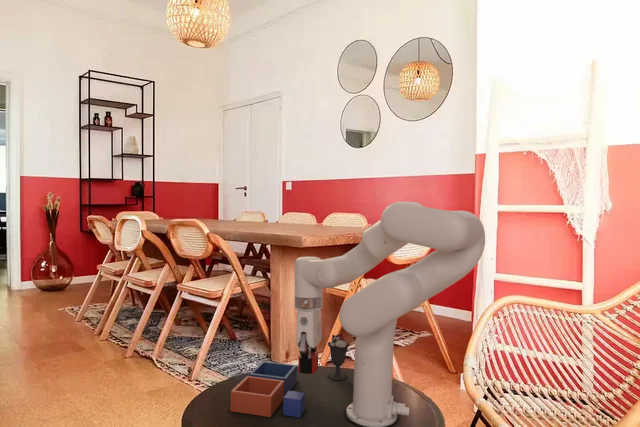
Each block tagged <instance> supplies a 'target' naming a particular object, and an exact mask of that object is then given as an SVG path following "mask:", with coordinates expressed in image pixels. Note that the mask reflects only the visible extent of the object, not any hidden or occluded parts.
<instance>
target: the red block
mask: <svg viewBox="0 0 640 427" xmlns="http://www.w3.org/2000/svg"><path fill="white" fill-rule="evenodd" d="M316 352H317V351H316ZM316 352H311V358H312V373H311V374H310V375H315V374H316V372H317V371H318V370H319V352H317V353H316ZM297 359H298V363H297V364H298V365H297V373H298V374H301V373H300V354H299V355H298V358H297Z"/></svg>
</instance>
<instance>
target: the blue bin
mask: <svg viewBox="0 0 640 427" xmlns="http://www.w3.org/2000/svg"><path fill="white" fill-rule="evenodd" d="M297 375H298V365H297V364H289V363H281V362H273V361H263V360H262V361H261V362H259V364H258V365H257V366H256V367H255V368H254V369H253V370H252V371H250V373H248V376H252V377H260V378H267V379H275V380H283V381H284V396H285V395H286V394H287V392H288V391H292V389H293V388H294V386H295V385H296V383H297V379H298V377H297Z"/></svg>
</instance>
